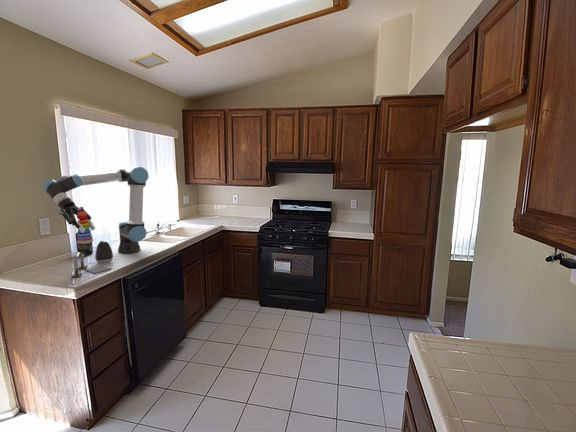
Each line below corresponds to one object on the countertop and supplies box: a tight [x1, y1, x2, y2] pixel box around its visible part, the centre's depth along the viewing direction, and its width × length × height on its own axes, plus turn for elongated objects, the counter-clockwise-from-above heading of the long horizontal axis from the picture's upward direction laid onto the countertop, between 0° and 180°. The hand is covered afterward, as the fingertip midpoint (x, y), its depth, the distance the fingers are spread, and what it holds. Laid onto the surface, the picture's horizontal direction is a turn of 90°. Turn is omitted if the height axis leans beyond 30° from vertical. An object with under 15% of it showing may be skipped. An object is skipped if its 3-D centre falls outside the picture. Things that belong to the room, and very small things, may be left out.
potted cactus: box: [94, 240, 114, 265], centre depth 196 cm, size 10×10×15 cm
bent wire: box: [71, 251, 88, 279], centre depth 177 cm, size 4×18×13 cm, turn 24°
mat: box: [84, 265, 112, 275], centre depth 182 cm, size 10×10×1 cm
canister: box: [75, 231, 94, 257], centre depth 212 cm, size 10×10×18 cm
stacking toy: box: [76, 212, 94, 244], centre depth 175 cm, size 8×8×19 cm
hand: (88, 230), depth 174 cm, fingers closed on stacking toy, 6 cm apart
